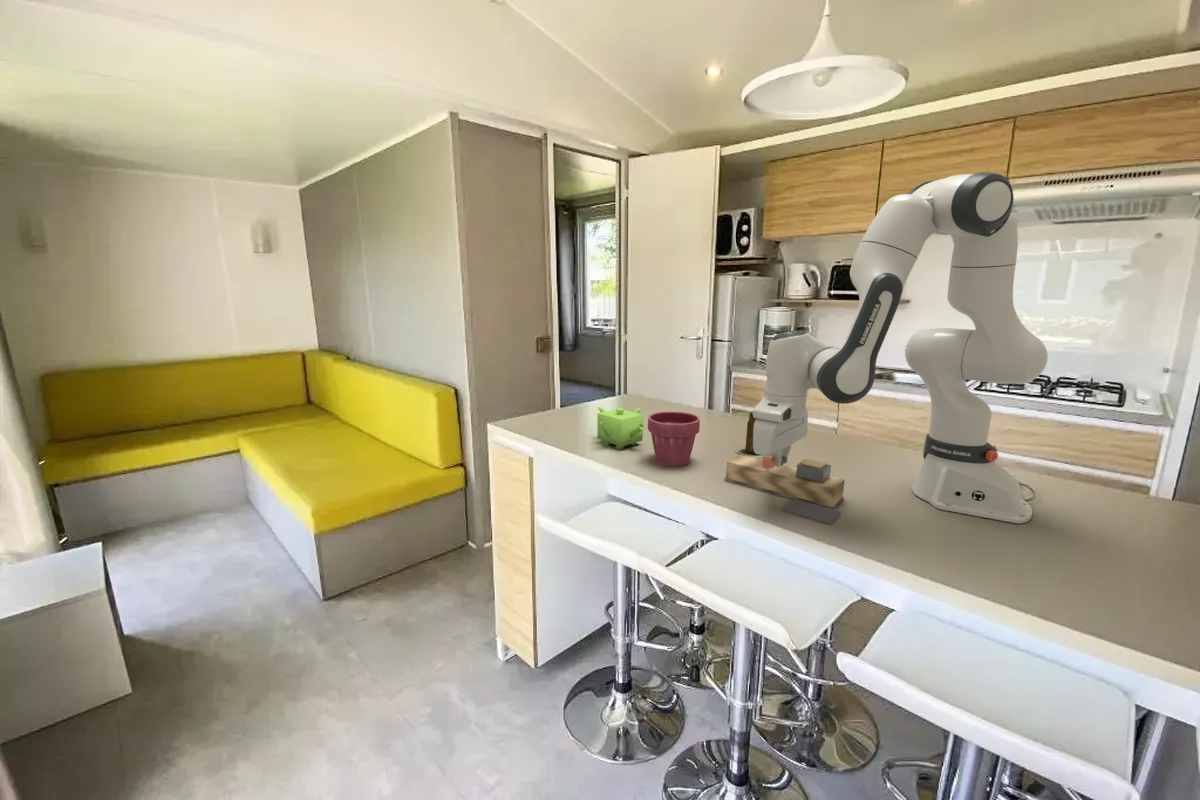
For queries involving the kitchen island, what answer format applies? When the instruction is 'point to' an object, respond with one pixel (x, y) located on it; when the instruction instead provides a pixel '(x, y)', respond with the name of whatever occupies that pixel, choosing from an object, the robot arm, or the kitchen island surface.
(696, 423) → the plant pot
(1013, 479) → the robot arm
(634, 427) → the kettle
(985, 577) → the kitchen island surface
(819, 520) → the mat
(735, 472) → the plane body
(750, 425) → the condiment
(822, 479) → the grey and tan block
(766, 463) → the latch lever
